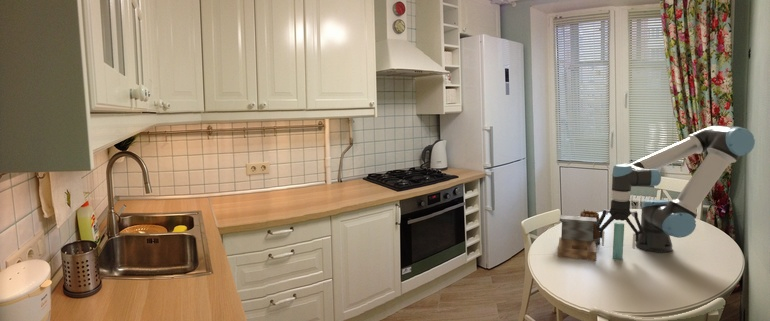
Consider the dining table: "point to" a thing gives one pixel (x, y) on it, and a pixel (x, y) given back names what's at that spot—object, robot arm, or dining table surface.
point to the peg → (618, 240)
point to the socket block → (577, 238)
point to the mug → (595, 232)
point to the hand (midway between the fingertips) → (618, 246)
